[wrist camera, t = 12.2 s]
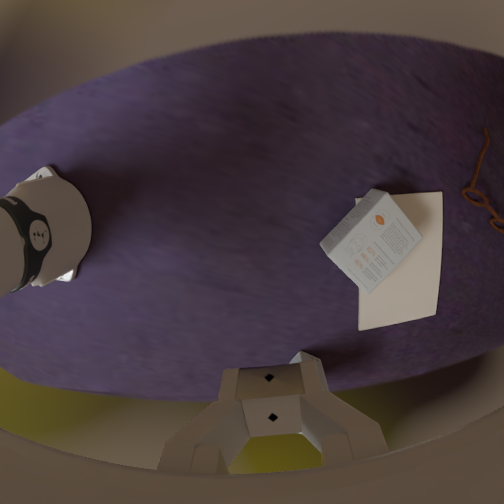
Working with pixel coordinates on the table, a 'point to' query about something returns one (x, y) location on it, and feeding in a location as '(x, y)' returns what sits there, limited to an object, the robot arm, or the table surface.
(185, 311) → the table surface
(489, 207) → the glasses
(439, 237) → the felt mat
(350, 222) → the small box
